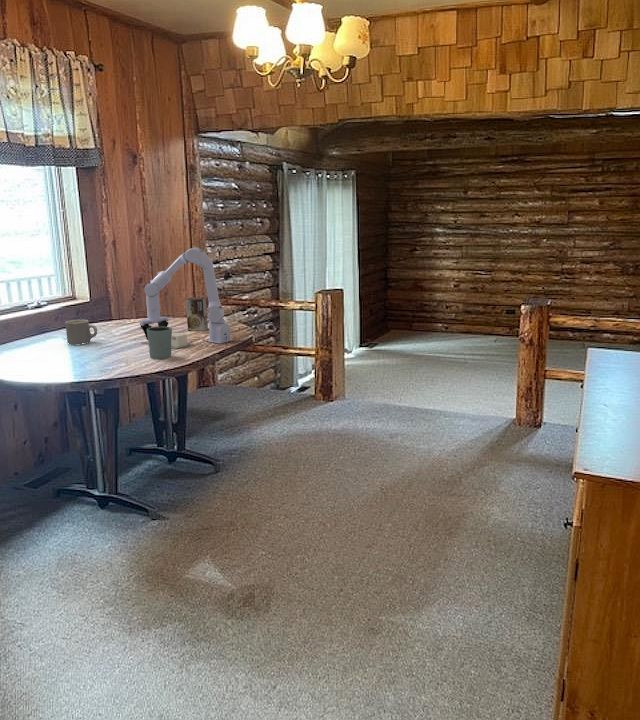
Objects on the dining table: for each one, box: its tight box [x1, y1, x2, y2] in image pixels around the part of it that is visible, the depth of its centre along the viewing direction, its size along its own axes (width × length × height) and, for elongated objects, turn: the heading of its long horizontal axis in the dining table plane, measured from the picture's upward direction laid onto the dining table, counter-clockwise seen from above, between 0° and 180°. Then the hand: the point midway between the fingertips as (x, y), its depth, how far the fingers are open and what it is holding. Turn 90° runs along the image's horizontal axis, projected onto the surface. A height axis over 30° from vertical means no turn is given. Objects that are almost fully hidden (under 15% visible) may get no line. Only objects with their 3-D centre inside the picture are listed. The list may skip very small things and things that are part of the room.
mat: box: [140, 340, 194, 350], centre depth 289 cm, size 24×11×1 cm, turn 51°
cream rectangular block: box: [171, 331, 188, 347], centre depth 285 cm, size 10×5×5 cm, turn 51°
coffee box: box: [185, 297, 209, 331], centre depth 321 cm, size 9×6×16 cm
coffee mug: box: [65, 319, 98, 345], centre depth 293 cm, size 13×10×10 cm
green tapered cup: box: [147, 326, 173, 360], centre depth 262 cm, size 10×10×12 cm
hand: (155, 338), depth 294 cm, fingers open, 7 cm apart
